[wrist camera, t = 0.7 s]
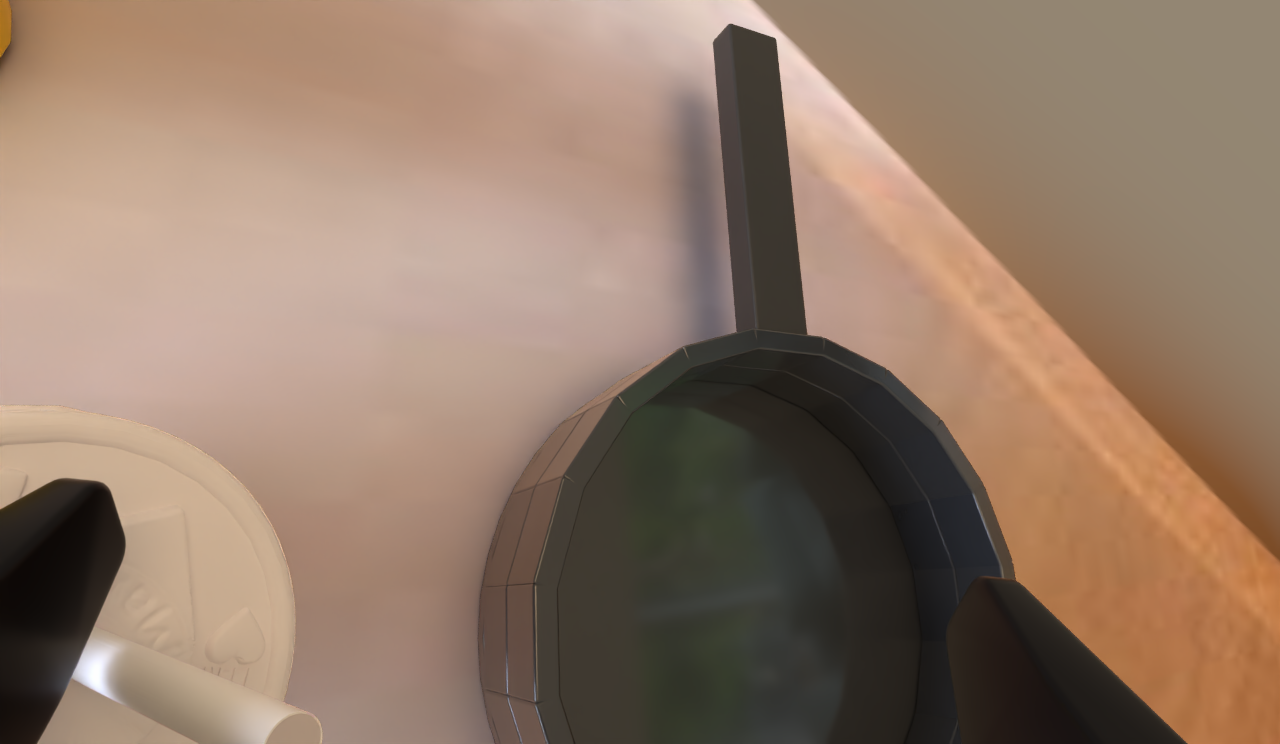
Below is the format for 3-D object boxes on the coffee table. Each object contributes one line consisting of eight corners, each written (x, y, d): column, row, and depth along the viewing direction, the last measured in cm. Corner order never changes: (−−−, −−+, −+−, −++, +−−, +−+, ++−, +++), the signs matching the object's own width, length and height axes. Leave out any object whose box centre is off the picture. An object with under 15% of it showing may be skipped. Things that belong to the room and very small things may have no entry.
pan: (950, 856, 26) (1067, 894, 22) (476, 988, 18) (540, 1073, 15) (889, 385, 29) (980, 355, 26) (477, 346, 22) (529, 298, 19)
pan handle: (787, 350, 24) (809, 341, 23) (736, 345, 23) (757, 335, 22) (758, 55, 27) (776, 37, 26) (711, 41, 26) (729, 21, 25)
